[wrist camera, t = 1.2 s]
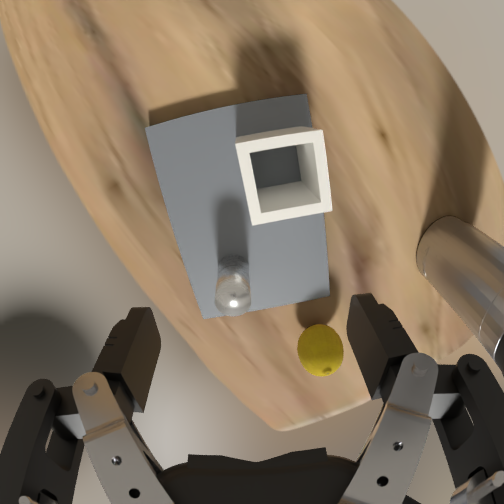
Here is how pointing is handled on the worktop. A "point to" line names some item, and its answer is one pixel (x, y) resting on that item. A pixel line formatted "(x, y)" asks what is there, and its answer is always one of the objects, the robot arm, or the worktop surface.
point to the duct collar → (291, 194)
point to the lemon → (320, 350)
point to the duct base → (238, 203)
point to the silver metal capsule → (233, 286)
